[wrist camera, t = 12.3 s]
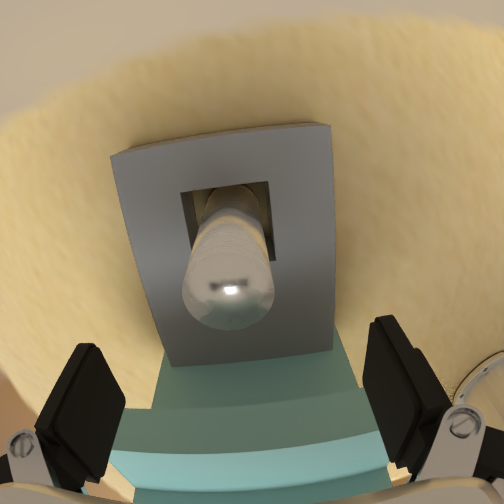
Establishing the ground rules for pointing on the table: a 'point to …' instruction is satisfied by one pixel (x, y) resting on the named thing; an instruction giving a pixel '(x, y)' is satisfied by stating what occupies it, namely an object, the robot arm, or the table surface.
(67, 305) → the table surface
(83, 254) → the table surface
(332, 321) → the socket stand
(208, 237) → the peg
